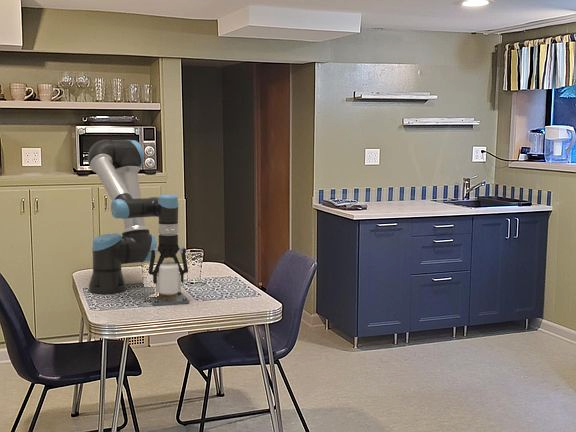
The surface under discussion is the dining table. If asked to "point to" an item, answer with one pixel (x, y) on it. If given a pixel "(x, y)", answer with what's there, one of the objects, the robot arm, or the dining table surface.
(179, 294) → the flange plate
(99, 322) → the dining table surface
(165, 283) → the beverage can
